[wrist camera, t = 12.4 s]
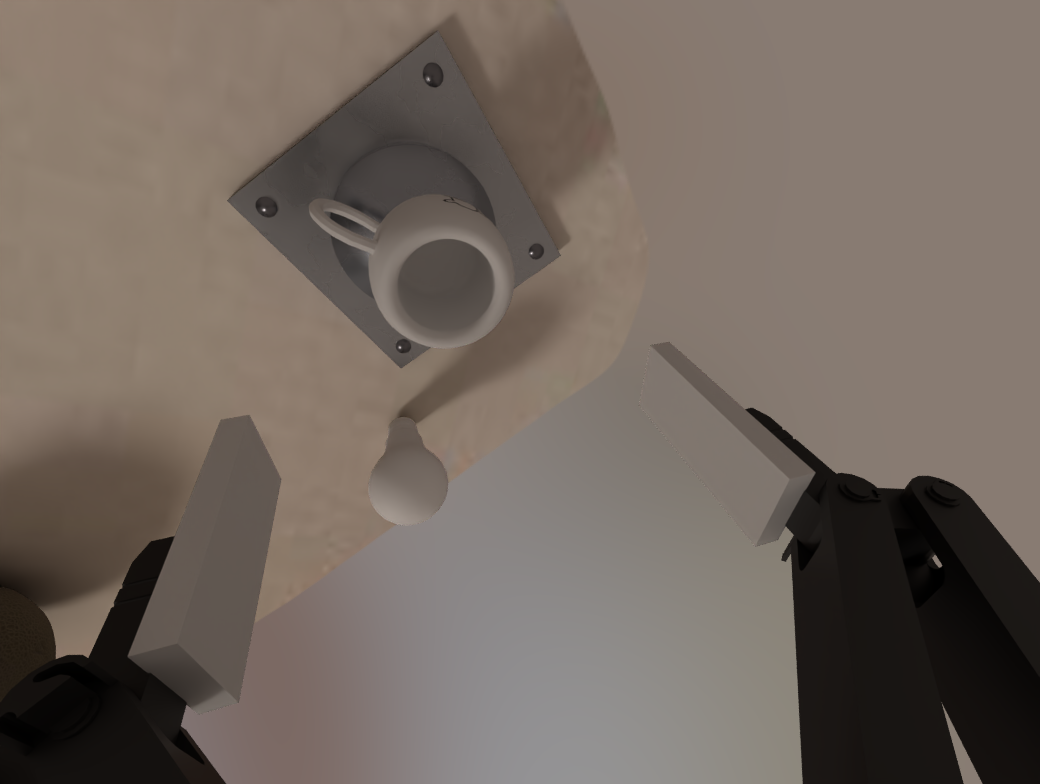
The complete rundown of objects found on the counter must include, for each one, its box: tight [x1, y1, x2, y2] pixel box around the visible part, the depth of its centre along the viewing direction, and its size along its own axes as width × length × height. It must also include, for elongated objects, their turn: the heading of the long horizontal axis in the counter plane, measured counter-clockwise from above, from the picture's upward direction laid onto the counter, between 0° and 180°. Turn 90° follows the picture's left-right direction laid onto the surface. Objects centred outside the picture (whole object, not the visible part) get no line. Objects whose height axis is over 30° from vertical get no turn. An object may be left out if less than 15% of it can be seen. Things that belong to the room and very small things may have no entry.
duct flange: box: [227, 31, 561, 368], centre depth 31 cm, size 16×16×2 cm
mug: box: [309, 194, 515, 348], centre depth 27 cm, size 12×8×8 cm
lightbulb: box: [368, 417, 448, 525], centre depth 37 cm, size 6×6×11 cm
